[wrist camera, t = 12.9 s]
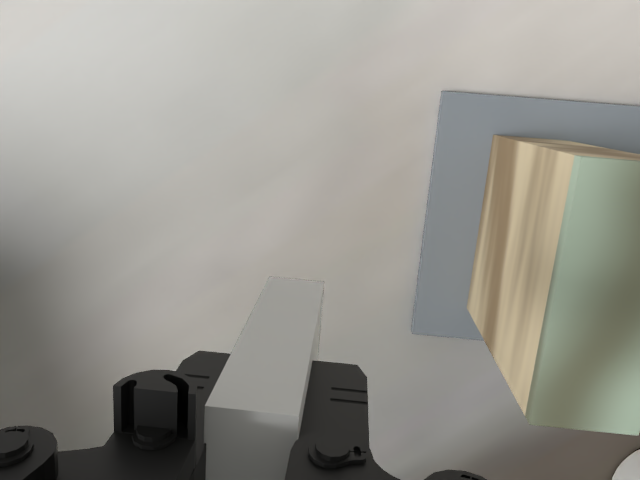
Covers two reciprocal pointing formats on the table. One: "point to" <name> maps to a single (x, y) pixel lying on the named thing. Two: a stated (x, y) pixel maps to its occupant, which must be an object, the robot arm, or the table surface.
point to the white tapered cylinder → (629, 468)
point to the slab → (562, 281)
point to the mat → (469, 185)
